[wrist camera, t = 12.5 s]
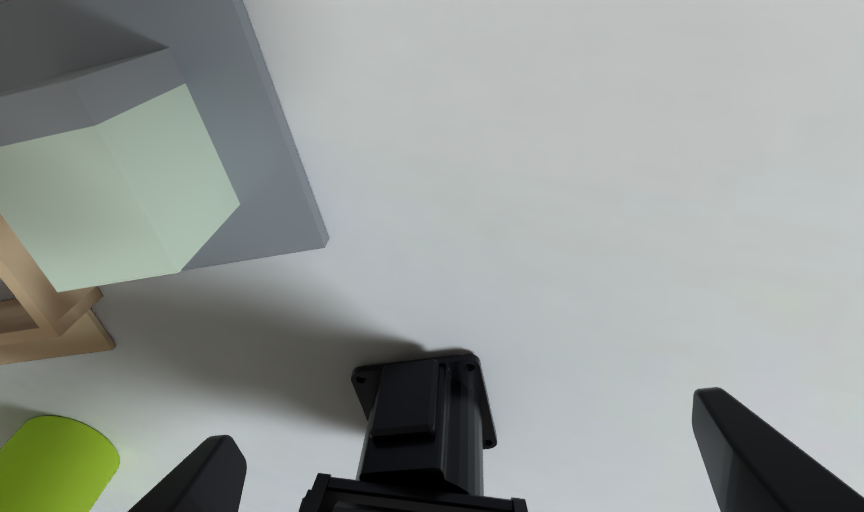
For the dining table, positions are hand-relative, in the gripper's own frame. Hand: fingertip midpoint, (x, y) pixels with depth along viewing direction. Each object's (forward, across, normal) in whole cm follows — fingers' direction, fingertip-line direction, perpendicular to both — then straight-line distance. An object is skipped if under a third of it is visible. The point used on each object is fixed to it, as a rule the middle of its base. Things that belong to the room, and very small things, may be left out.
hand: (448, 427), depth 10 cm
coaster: (+12, +11, -4) cm, 17 cm away
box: (+11, +11, -4) cm, 16 cm away
